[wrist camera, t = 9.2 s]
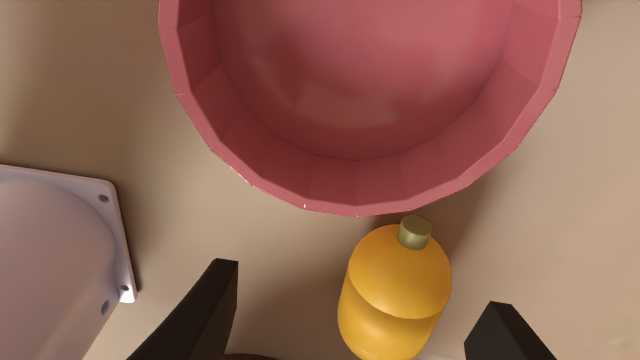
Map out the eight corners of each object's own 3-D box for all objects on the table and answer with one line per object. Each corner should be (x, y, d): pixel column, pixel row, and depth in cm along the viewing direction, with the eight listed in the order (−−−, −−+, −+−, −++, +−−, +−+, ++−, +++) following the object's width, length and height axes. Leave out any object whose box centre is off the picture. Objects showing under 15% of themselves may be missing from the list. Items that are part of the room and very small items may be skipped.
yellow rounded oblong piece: (408, 311, 24) (423, 391, 19) (331, 301, 23) (329, 380, 19) (457, 199, 19) (490, 274, 14) (359, 185, 18) (364, 257, 14)
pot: (458, 182, 18) (482, 237, 15) (206, 143, 18) (173, 190, 14) (595, -145, 11) (696, -179, 8) (192, -215, 11) (126, -280, 8)
